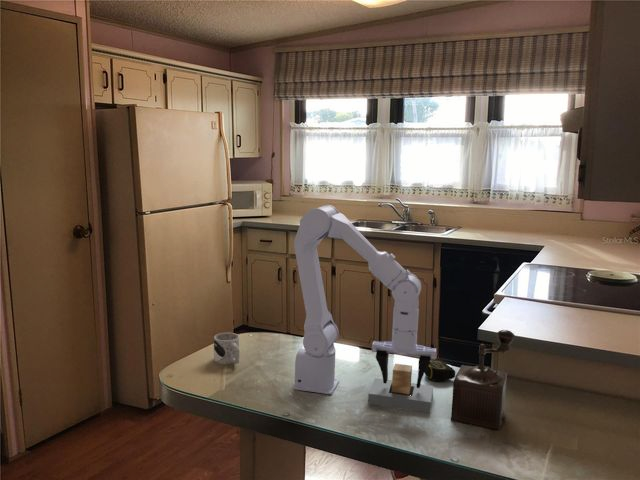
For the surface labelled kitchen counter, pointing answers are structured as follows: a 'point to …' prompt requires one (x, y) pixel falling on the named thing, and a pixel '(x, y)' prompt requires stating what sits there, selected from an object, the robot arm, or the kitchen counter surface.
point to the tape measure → (439, 371)
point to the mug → (226, 348)
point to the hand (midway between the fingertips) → (401, 383)
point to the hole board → (401, 396)
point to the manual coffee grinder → (481, 390)
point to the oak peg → (401, 379)
